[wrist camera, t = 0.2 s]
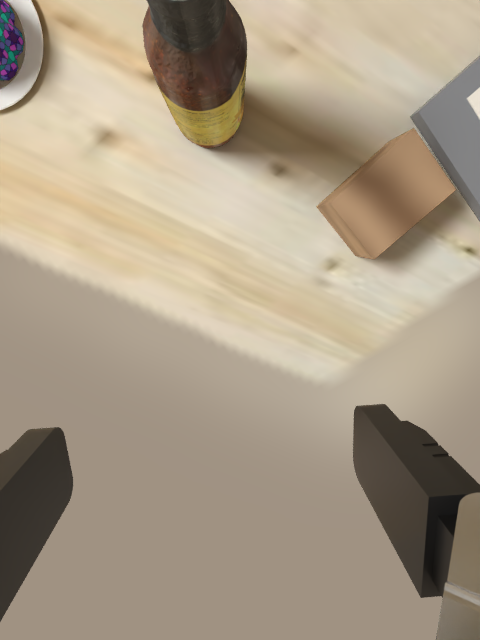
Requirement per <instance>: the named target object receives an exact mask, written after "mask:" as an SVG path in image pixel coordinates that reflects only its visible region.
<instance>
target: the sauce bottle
mask: <svg viewBox="0 0 480 640" xmlns="http://www.w3.org/2000/svg"><path fill="white" fill-rule="evenodd" d="M147 1H148V4H149V7H148V10H147V12H146V15H145V18H144V21H143V35H144V47H145V51H146V55H147V59H148V62H149V64H150V67H151V69H152V71H153V74H154V78H155V80H156V82H157V85H158V87H159V89H160V91H161V93H162V95H163V97H164V99H165V101H166V103H167V106H168V108H169V110H170V112H171V114H172V116H173V118H174V120H175V122H176V124H177V125H178V127H179V129H180V131H181V132H182V133H183V135H184V136H185V137H186V138H188V140H190V141H191V142H192V143H195V144H197V145H199V146H201V147H204V148H213V147H218V146H221V145H223V144H225V143H227V142H228V141H229V140H230V139H231V138H233V136H234V134H235V133H236V130H237V129H238V127H239V125H240V123H241V120H242V116H243V106H244V92H245V80H246V79H245V77H246V62H247V61H246V60H247V40H246V34H245V29H244V26H243V23H242V20H241V18H240V16H239V14H238V13H237V11H236V10H235V8H234V7H233V5H232V4H231V3H230V1H229V0H147Z"/></svg>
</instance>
